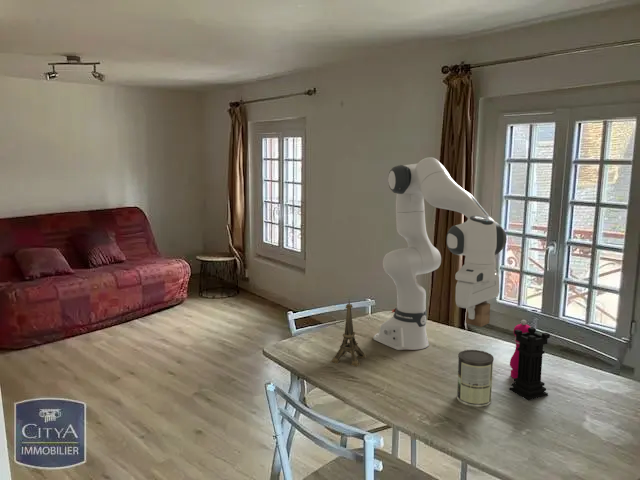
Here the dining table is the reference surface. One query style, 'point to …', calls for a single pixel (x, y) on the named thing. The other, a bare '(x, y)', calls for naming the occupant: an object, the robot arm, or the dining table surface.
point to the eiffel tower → (347, 346)
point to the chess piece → (530, 364)
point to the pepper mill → (515, 357)
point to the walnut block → (480, 315)
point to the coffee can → (475, 378)
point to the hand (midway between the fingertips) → (477, 316)
